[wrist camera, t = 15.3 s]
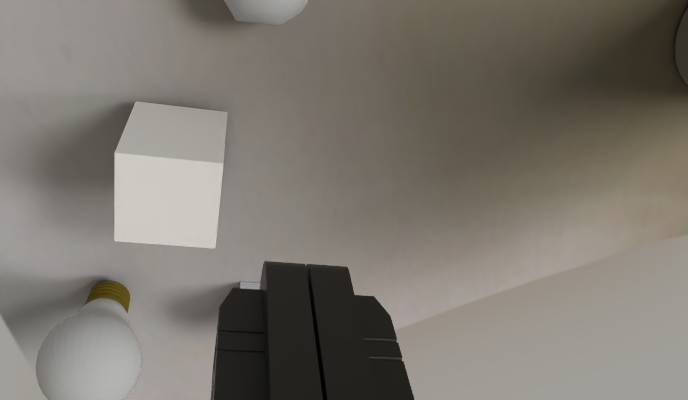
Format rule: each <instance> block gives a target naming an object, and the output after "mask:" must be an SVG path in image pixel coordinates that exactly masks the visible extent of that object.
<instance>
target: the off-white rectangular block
mask: <svg viewBox="0 0 688 400" xmlns="http://www.w3.org/2000/svg"><path fill="white" fill-rule="evenodd" d="M226 126H227V112H222V111H214V110H205V109H197V108H188V107H180V106H171V105H163V104H154V103H146V102H137V101H136V102H135V104H134V107H133V109H132V112H131V114H130V116H129V119H128V121H127V124H126V126H125V129H124V131H123V133H122V136H121V138H120V141H119V143H118V146H117V148H116V150H115V200H114V241H120V242H133V243H147V244H160V245H174V246H188V247H201V248H215V246H216V236H217V226H218V216H219V205H220V195H221V185H222V175H223V165H224V152H225V139H226Z"/></svg>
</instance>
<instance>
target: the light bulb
mask: <svg viewBox="0 0 688 400" xmlns="http://www.w3.org/2000/svg"><path fill="white" fill-rule="evenodd" d="M129 301H130V294H129V291H128V290H127V288H126V287H124V286H123V285H122V284H120V283H117V282H113V281H104V282H100V283H98V284H96V285H95V286H94V287H93V288H92V289H91V292H90V294H89V296H88V299H87V301H86V303H85V305H84V306H83V307H82V309H81V310H80V311H79V313H78V314H77V315H75V316H73V317H71V318H68V319H66V320H65V321H63V322H62V323H60V324H59V325H57V326H56V327H55V328H54V329H53V330H52V331H51V332H50V333H49V334H48V336H47V337H46V339H45V340H44V342H43V343H42V346H41V348H40V350H39V353H38V356H37V362H36V376H37V380H38V384H39V386H40V388H41V390H42V392H43V394H44V395H45V396H46V398H47V399H48V400H123V399H124V398H125V397H126V396H127V395H128V394H129V392H130V391H131V390H132V389H133V387H134V385H135V384H136V382H137V380H138V377H139V374H140V371H141V367H142V351H141V346H140V343H139V340H138V338H137V336H136V334H135V333H134V331H133V330H132V329H131V328H130V323H129V317H128V314H127V313H128V307H129Z"/></svg>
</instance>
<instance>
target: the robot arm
mask: <svg viewBox="0 0 688 400" xmlns="http://www.w3.org/2000/svg"><path fill="white" fill-rule="evenodd" d="M675 59H676V64H677V67H678V71H679V74H680V75H681V77H682V78H683V80H684V81H685V83H686V84H687V85H688V8H687V10H686V12H685V13H684V15H683V17H682V20H681V23H680V26H679V29H678V31H677V36H676V43H675ZM396 340H397V338H396V334H395V331H394V327H393V324H392V320H391V317H390V315H389V314H388V313H387V312H386V310H385V309H384V308H383V307H382V306H381V304H380V303H379V302H378V301H377V300H376V298H375V297H374V296H359V295H354V291H353V287H352V282H351V278H350V273H349V270H348V268H347V267H342V266H327V265H313V264H307V265H306V266H305V264H297V263H282V262H268V261H265V262H264V264H263V269H262V276H261V282H260V289H259V290H258V289H242V288H233V289H232V290H231V292H230V293H229V294H228V296H227V297H226V299H225V300H224V302H223V303H222V304H221V306H220V308H219V317H218V327H217V336H216V345H215V355H214V364H213V375H212V390H211V400H414V397H413V394H412V390H411V386H410V383H409V380H408V376H407V372H406V369H405V365H404V362H403V361H402V355H401V351H400V348H399V345H398V343H397V342H396Z"/></svg>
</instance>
